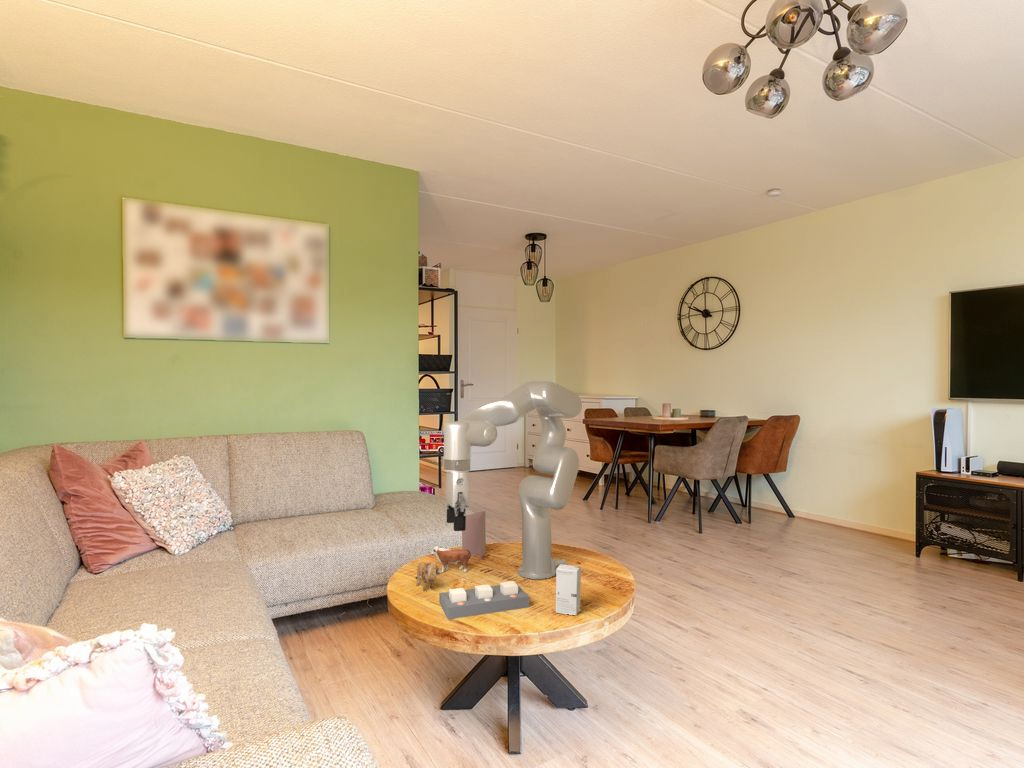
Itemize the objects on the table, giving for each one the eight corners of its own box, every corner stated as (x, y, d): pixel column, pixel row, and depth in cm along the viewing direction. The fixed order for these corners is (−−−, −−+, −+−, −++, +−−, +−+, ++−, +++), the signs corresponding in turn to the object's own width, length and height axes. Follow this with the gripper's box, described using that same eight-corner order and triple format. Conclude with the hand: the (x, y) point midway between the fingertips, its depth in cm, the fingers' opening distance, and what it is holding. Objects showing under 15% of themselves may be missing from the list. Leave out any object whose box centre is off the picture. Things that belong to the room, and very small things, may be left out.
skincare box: (555, 613, 152) (554, 568, 152) (559, 607, 156) (559, 563, 156) (577, 616, 150) (576, 571, 150) (581, 610, 154) (581, 566, 154)
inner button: (513, 593, 163) (513, 580, 163) (518, 598, 159) (518, 585, 159) (500, 594, 162) (500, 582, 162) (504, 600, 158) (504, 587, 158)
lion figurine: (444, 592, 168) (443, 562, 168) (427, 596, 165) (427, 566, 165) (423, 578, 180) (422, 550, 180) (407, 581, 177) (407, 553, 177)
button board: (516, 592, 167) (515, 582, 167) (529, 607, 156) (529, 595, 156) (439, 603, 159) (439, 592, 159) (447, 619, 149) (447, 607, 149)
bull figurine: (432, 568, 189) (432, 544, 189) (471, 569, 188) (471, 544, 188) (429, 572, 185) (428, 548, 185) (469, 573, 184) (469, 548, 184)
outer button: (463, 600, 158) (462, 587, 158) (466, 605, 154) (466, 592, 154) (449, 602, 157) (448, 589, 157) (452, 607, 153) (452, 594, 153)
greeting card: (484, 550, 208) (483, 510, 208) (498, 554, 203) (497, 513, 202) (460, 558, 200) (460, 516, 199) (474, 562, 194) (474, 519, 194)
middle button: (488, 596, 160) (488, 584, 160) (492, 601, 157) (492, 589, 157) (475, 598, 159) (474, 586, 159) (478, 603, 155) (478, 591, 155)
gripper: (477, 469, 151) (476, 533, 151) (463, 461, 168) (462, 519, 168) (449, 470, 149) (448, 534, 149) (438, 462, 166) (437, 520, 165)
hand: (455, 526), depth 158 cm, fingers open, 9 cm apart
